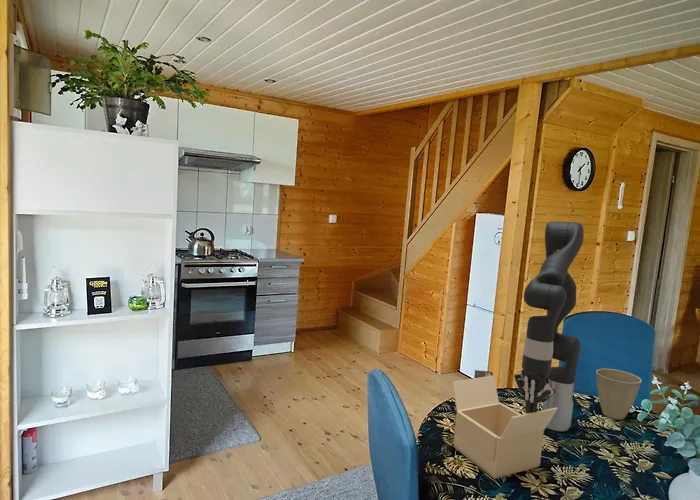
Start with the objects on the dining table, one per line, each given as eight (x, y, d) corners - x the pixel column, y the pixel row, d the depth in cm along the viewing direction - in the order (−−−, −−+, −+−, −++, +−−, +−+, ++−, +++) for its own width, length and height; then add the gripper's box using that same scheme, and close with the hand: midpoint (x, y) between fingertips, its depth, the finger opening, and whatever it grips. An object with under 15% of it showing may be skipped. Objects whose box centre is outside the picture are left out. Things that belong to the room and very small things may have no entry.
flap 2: (556, 407, 134) (557, 408, 133) (543, 428, 138) (544, 429, 137) (512, 416, 126) (513, 418, 125) (499, 438, 130) (500, 440, 129)
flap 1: (499, 402, 154) (497, 402, 154) (493, 375, 156) (492, 375, 156) (457, 410, 146) (456, 410, 146) (452, 381, 148) (451, 381, 148)
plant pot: (635, 414, 181) (641, 374, 179) (635, 428, 168) (641, 386, 166) (593, 403, 188) (598, 365, 187) (589, 416, 176) (594, 375, 174)
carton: (497, 436, 155) (500, 402, 154) (540, 465, 139) (545, 427, 138) (452, 447, 147) (455, 410, 145) (493, 479, 131) (497, 439, 129)
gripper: (567, 361, 125) (559, 422, 127) (528, 345, 137) (521, 401, 139) (547, 364, 121) (539, 426, 124) (509, 347, 133) (503, 405, 135)
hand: (530, 413), depth 131 cm, fingers closed
